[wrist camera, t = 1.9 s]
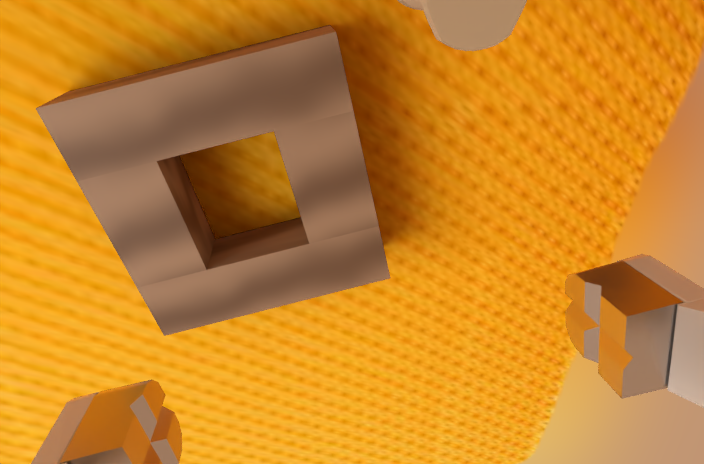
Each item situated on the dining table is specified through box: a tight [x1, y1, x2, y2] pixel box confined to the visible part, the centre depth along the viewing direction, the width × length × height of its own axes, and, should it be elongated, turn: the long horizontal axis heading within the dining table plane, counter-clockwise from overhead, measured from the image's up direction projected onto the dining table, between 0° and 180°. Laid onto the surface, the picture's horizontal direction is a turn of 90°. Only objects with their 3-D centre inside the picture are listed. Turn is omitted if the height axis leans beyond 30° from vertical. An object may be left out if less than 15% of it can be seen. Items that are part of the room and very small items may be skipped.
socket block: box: [36, 25, 390, 336], centre depth 37 cm, size 20×20×5 cm
